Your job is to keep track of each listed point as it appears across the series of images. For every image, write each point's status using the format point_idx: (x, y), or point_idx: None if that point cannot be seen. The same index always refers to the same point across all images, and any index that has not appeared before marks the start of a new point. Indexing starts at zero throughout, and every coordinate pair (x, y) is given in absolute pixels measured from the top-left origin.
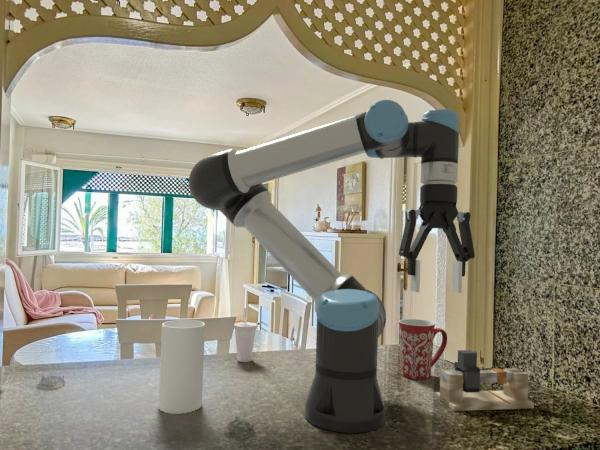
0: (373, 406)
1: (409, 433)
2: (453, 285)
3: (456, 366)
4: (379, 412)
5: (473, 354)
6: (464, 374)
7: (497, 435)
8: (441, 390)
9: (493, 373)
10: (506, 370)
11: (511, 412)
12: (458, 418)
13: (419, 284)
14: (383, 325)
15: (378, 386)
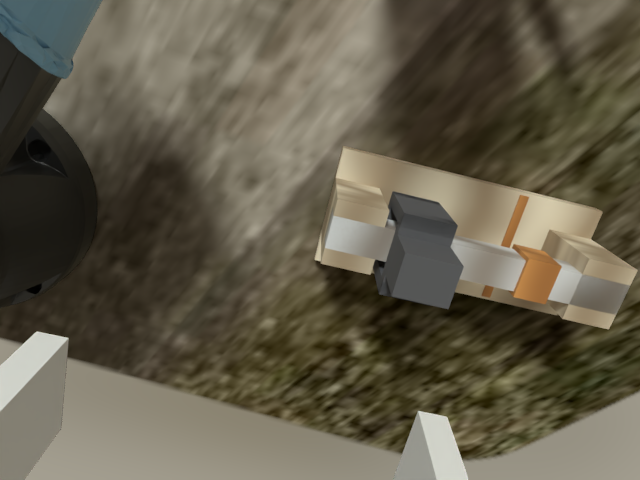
0: (3, 306)
1: (114, 324)
2: (417, 475)
3: (398, 222)
4: (34, 295)
5: (432, 302)
6: (379, 271)
7: (307, 390)
8: (333, 192)
9: (498, 286)
10: (572, 280)
11: (462, 309)
12: (290, 295)
13: (23, 477)
14: (33, 114)
15: (16, 281)
